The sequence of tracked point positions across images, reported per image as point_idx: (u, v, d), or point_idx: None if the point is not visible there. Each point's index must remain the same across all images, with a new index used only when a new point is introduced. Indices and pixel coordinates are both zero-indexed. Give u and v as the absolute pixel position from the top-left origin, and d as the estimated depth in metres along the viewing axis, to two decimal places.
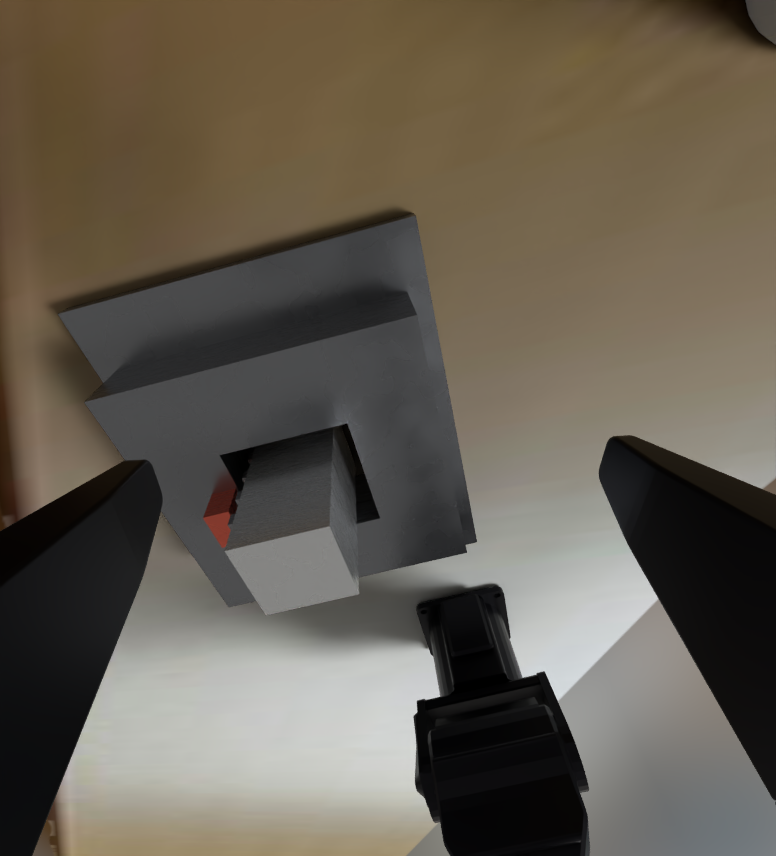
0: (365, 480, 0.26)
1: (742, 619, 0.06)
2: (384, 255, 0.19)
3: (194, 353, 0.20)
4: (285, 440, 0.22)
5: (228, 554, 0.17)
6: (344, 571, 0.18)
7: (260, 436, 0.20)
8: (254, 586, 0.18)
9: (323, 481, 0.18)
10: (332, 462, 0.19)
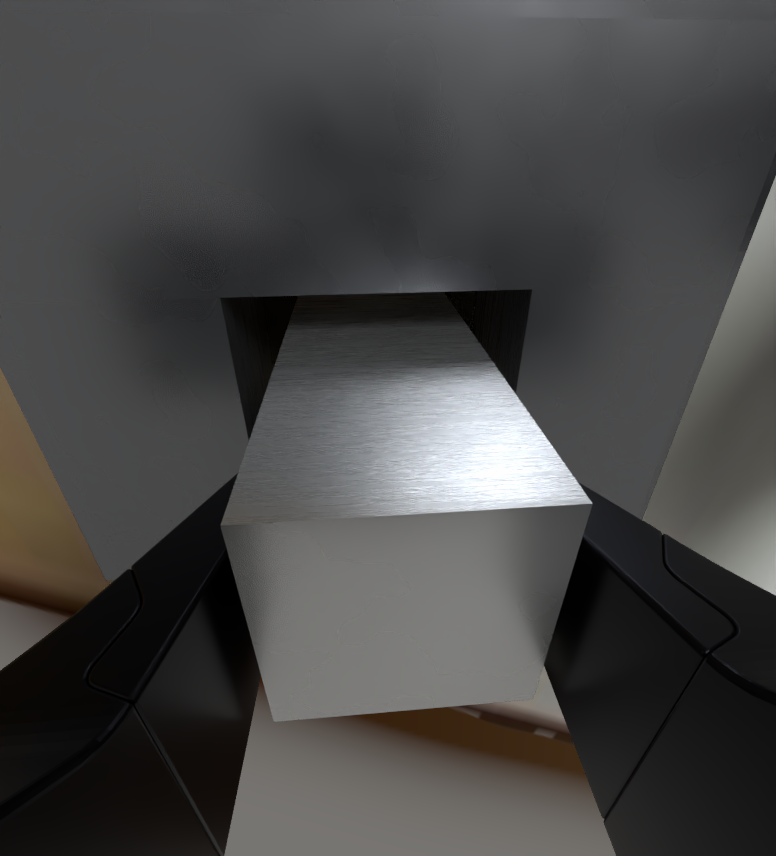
0: None
1: (574, 632, 0.06)
2: None
3: None
4: None
5: (286, 718, 0.07)
6: (455, 522, 0.05)
7: (234, 465, 0.10)
8: (417, 700, 0.07)
9: None
10: (273, 371, 0.08)
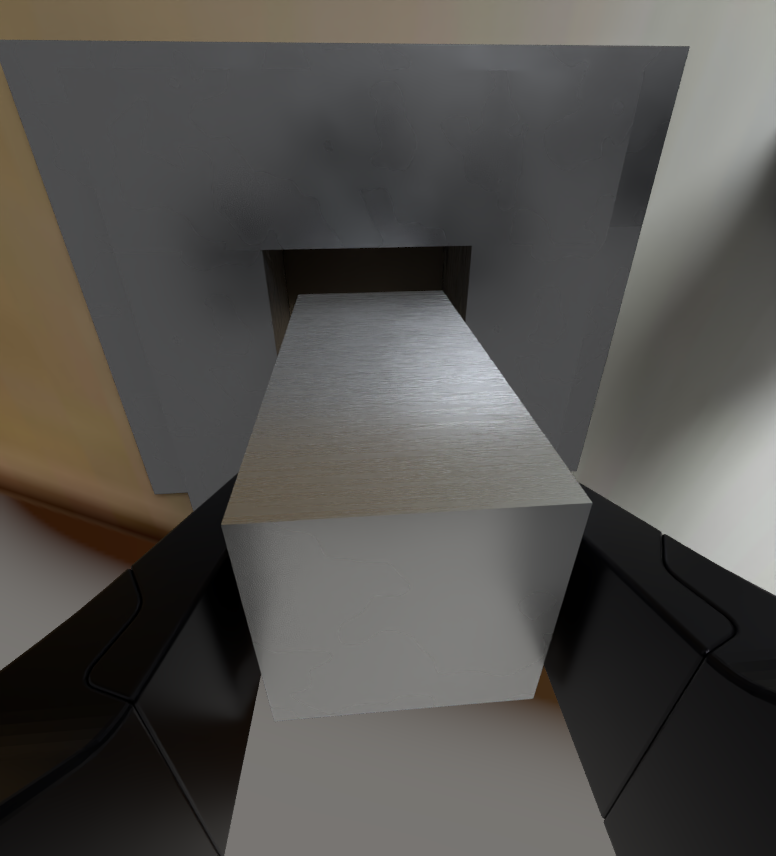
0: (448, 248, 0.16)
1: (574, 632, 0.06)
2: (60, 112, 0.13)
3: None
4: None
5: (287, 718, 0.07)
6: (455, 522, 0.05)
7: (266, 376, 0.15)
8: (417, 699, 0.07)
9: None
10: (274, 371, 0.08)
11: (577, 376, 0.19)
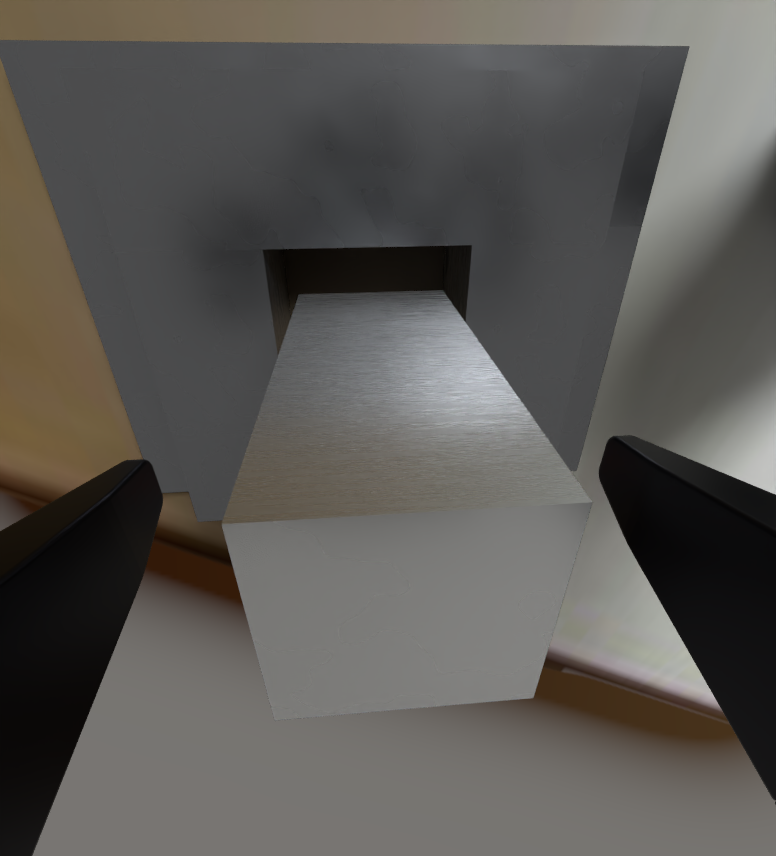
0: (448, 248, 0.16)
1: (742, 619, 0.06)
2: (62, 112, 0.13)
3: None
4: None
5: (287, 717, 0.07)
6: (456, 521, 0.05)
7: (267, 375, 0.15)
8: (417, 698, 0.07)
9: None
10: (274, 371, 0.08)
11: (577, 375, 0.19)
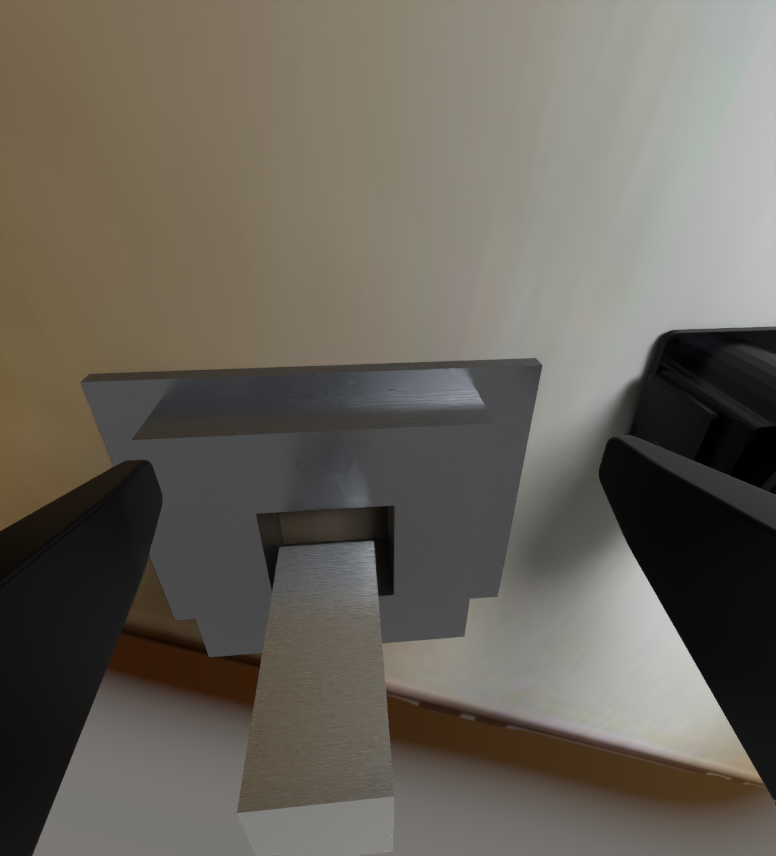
0: None
1: (742, 619, 0.06)
2: (121, 414, 0.20)
3: None
4: None
5: None
6: (336, 805, 0.12)
7: (259, 575, 0.21)
8: (332, 855, 0.13)
9: None
10: (261, 664, 0.15)
11: (490, 539, 0.26)
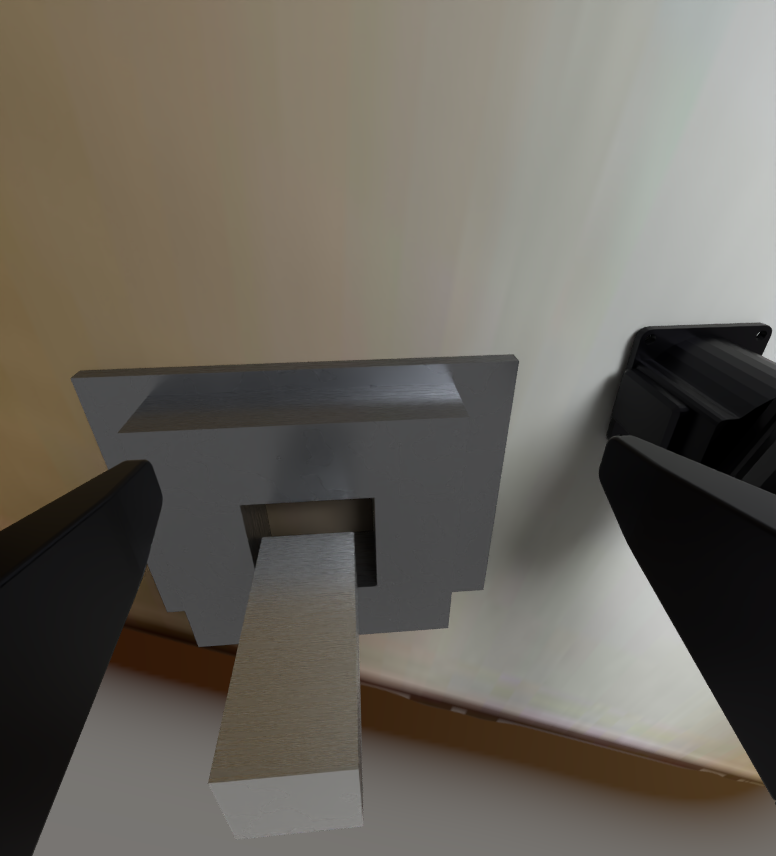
0: None
1: (742, 619, 0.06)
2: (111, 409, 0.20)
3: None
4: None
5: (241, 838, 0.14)
6: (302, 777, 0.12)
7: (244, 566, 0.22)
8: (304, 829, 0.14)
9: None
10: (238, 647, 0.15)
11: (474, 533, 0.26)
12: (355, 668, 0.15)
